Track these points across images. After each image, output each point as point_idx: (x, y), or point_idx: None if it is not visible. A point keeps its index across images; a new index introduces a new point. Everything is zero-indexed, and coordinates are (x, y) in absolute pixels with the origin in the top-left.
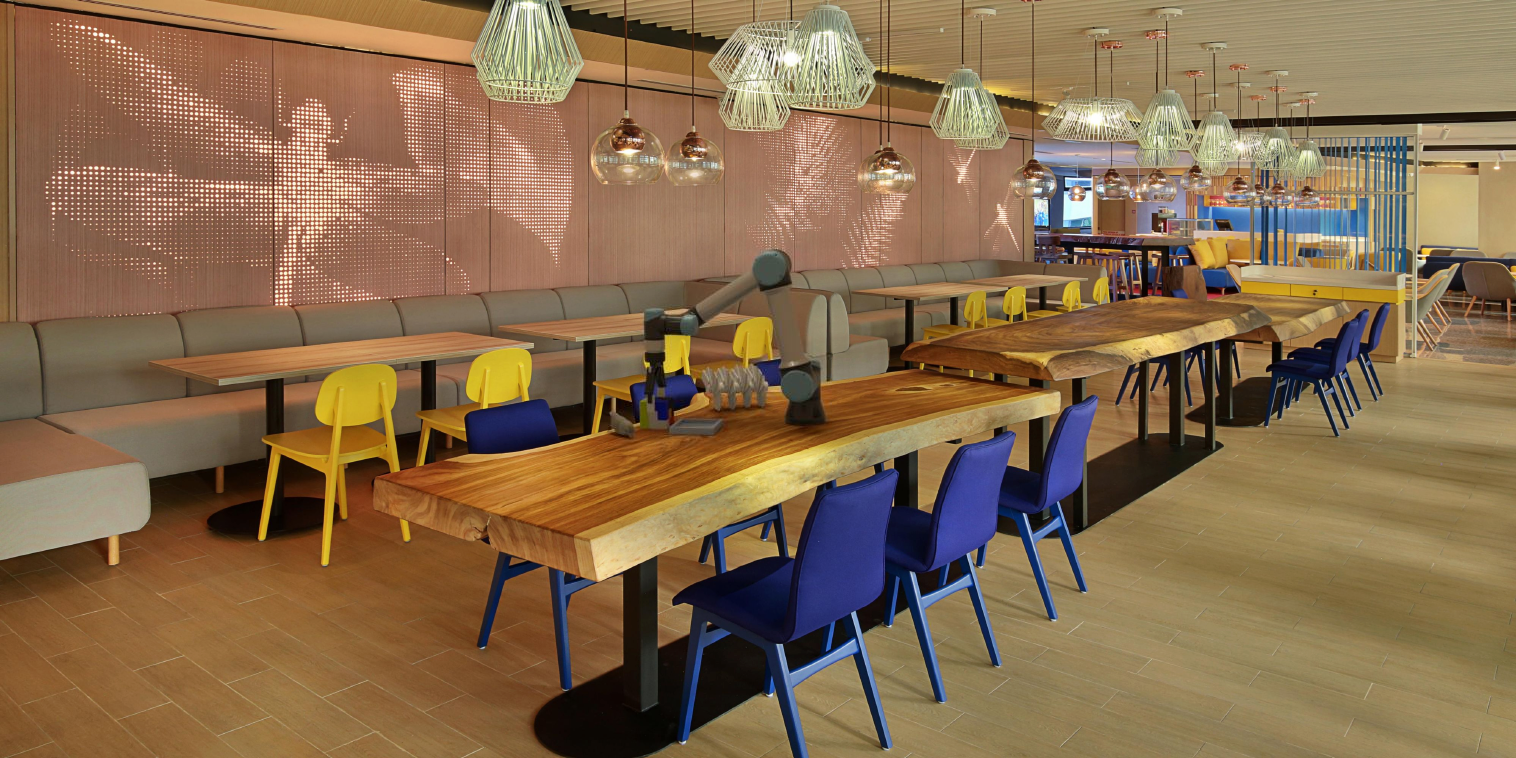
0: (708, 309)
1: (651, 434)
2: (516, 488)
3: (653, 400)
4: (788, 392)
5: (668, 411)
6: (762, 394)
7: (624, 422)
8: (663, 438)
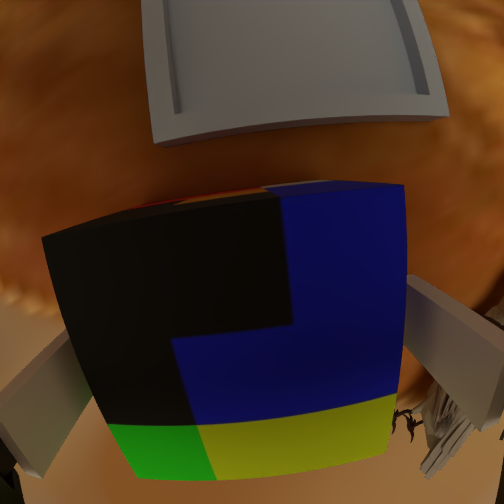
0: None
1: (450, 215)
2: None
3: (477, 319)
4: None
5: (276, 189)
6: None
7: None
8: (497, 127)
